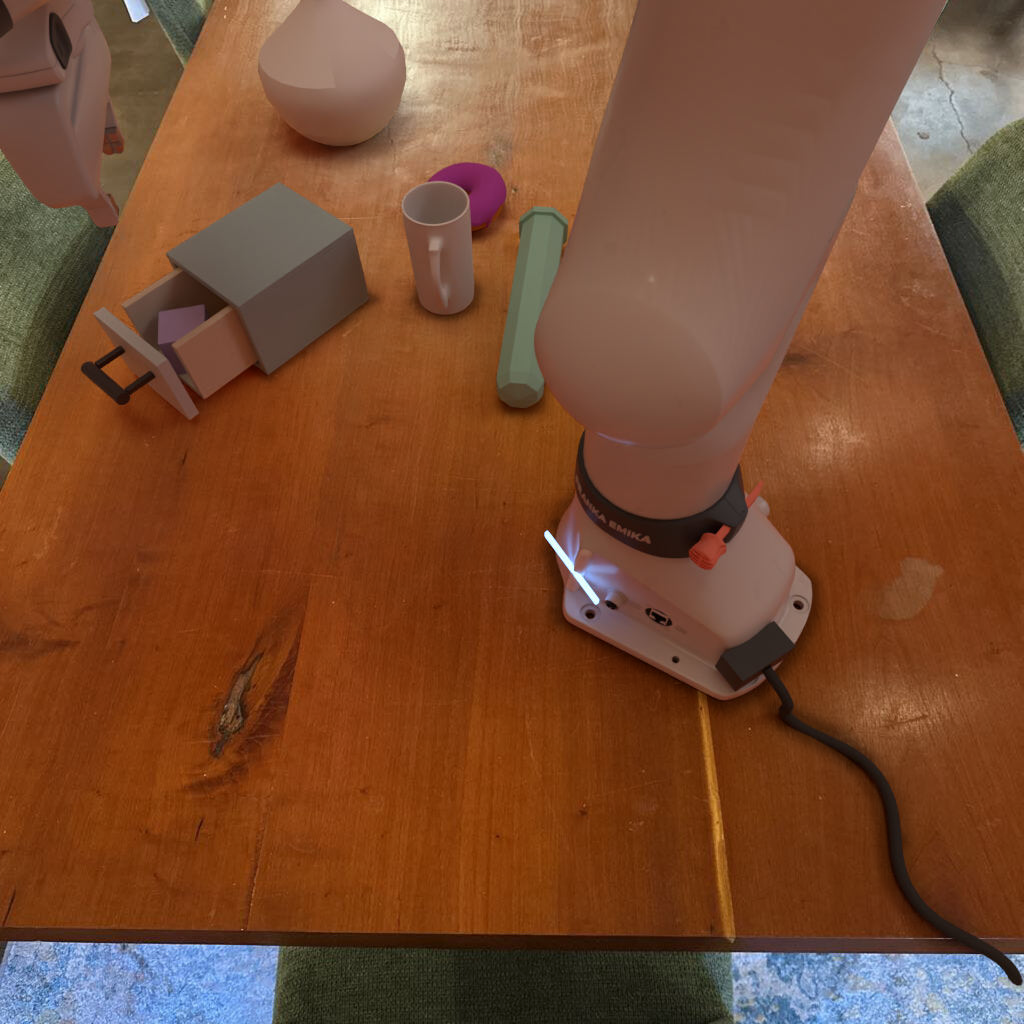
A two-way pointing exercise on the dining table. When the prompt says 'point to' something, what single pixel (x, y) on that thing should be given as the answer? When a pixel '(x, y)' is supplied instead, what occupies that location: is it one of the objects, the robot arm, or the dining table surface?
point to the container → (529, 304)
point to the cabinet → (278, 271)
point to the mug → (440, 245)
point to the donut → (477, 190)
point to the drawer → (174, 344)
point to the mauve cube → (178, 330)
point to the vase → (333, 72)
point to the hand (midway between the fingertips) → (112, 183)
